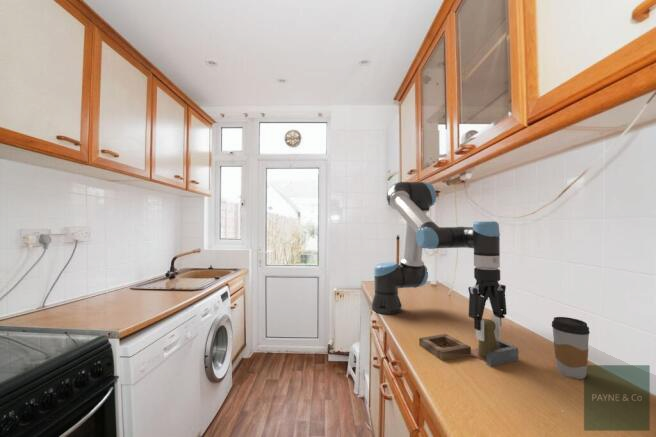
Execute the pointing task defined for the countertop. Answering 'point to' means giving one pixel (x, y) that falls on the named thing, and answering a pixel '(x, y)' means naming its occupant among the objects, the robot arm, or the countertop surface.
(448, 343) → the socket block
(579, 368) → the coffee cup
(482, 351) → the olive stamp handle
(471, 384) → the countertop surface
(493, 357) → the corner cradle
